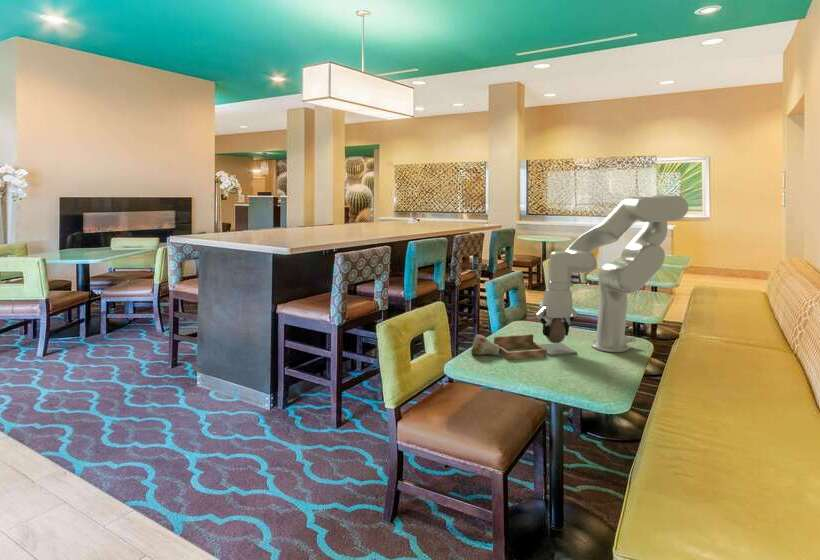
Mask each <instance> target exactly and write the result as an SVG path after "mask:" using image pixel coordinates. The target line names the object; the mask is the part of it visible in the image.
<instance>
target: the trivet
mask: <svg viewBox="0 0 820 560" xmlns="http://www.w3.org/2000/svg"><path fill="white" fill-rule="evenodd" d="M539 345H540V346H542V347H543V348H545V349H547V356H548V357H557V356H568V355H569V356H570V355H578V351H576V350H575V349H573V348H571V347H569V346H567V345H565V344H564V343H562V342H560V343H544V344H543V343H540V344H539Z"/></svg>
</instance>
